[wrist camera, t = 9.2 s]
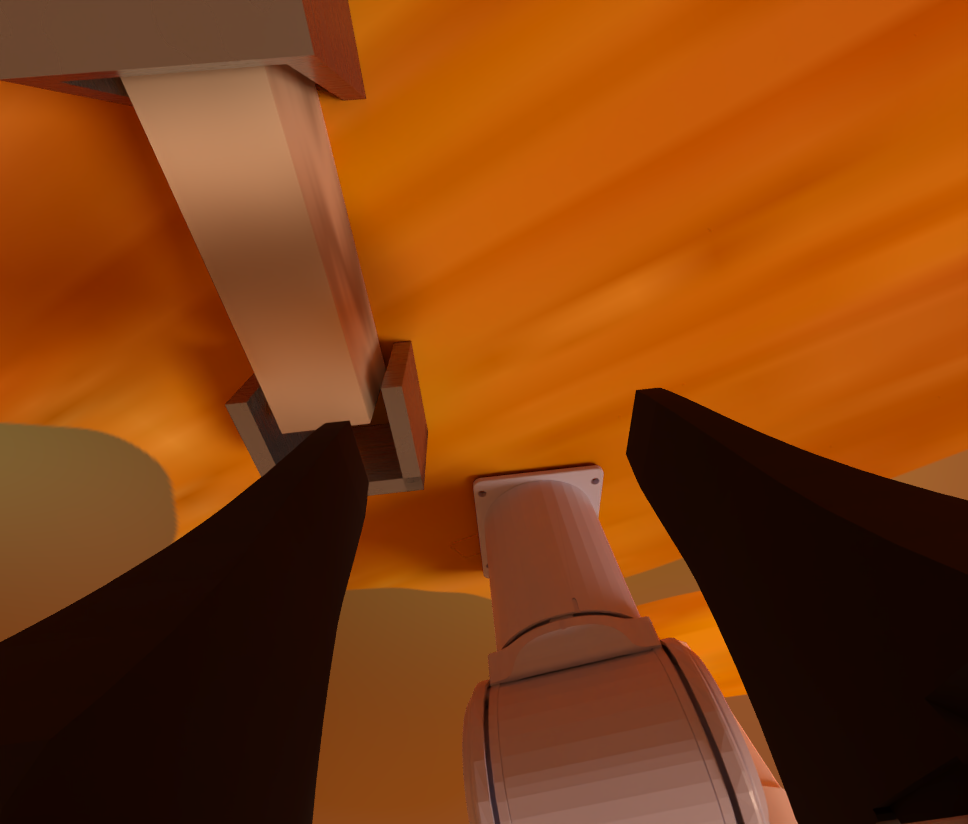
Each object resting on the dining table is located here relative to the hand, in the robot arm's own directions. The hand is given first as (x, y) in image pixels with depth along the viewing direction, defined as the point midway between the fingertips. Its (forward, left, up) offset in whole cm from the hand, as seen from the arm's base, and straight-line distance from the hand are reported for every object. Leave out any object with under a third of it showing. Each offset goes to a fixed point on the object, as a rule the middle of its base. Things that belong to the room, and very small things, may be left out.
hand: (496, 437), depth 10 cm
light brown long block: (+4, +7, -10) cm, 13 cm away
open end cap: (-4, +6, -10) cm, 12 cm away
